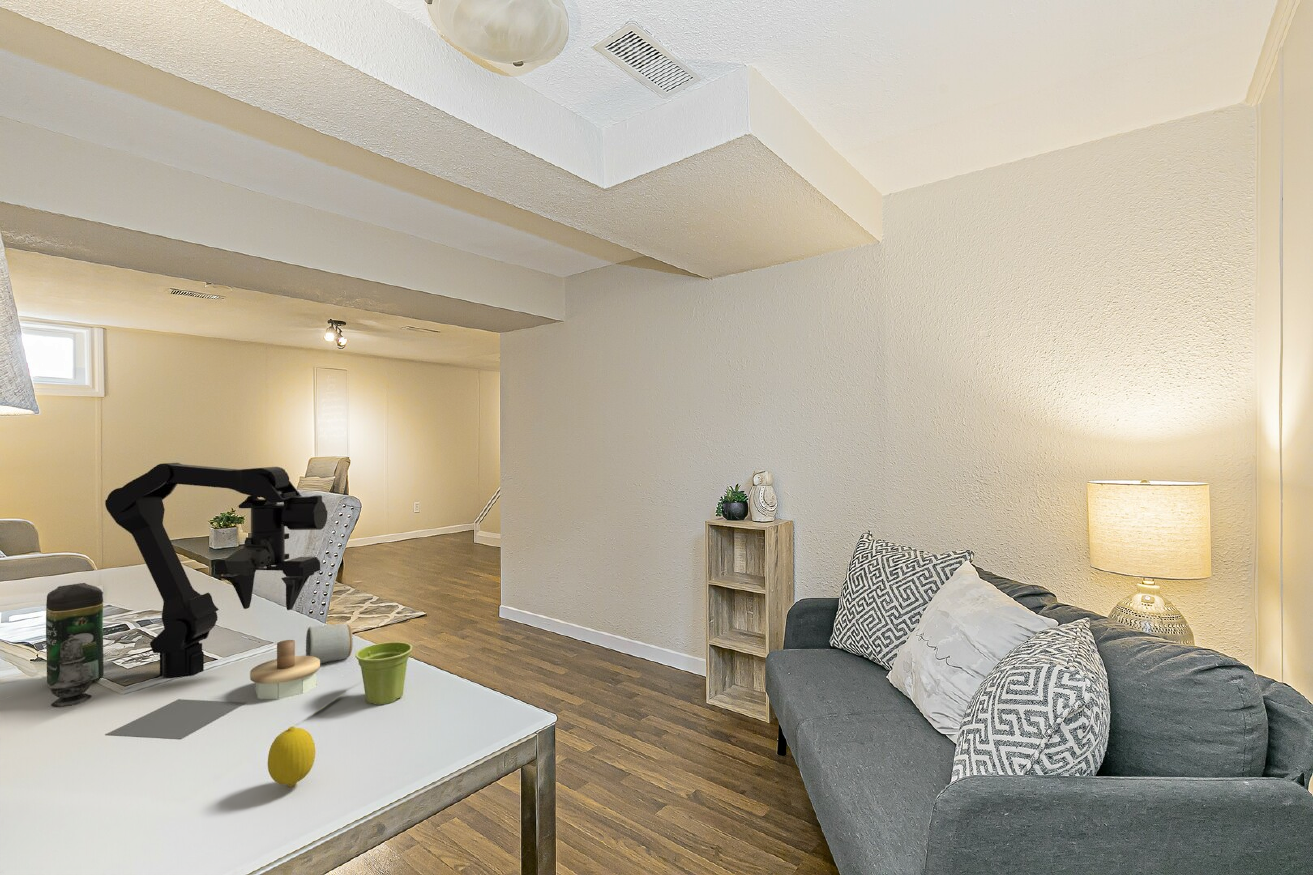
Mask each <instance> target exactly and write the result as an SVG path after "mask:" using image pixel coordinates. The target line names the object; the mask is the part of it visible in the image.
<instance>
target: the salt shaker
mask: <svg viewBox="0 0 1313 875" xmlns="http://www.w3.org/2000/svg"><path fill="white" fill-rule="evenodd" d="M69 637H70V639H68V640H66V641H64V642H63V643H62V644H61V646H60V660H59V661H58V662H57V663H58V664H60V674H59V677H58V679H57V680H56V681H54V682H52V683H50V684H49V685H48V688H50V691H51V693H52V695H53V696H54V697H56V698H57V699H55V700H54V701H52V702H51V703H50V707H52V708H67V707H72V706H77V705H79V704H82V703H83V704H84V703H85V702H87V701H89V700H90V699H92V695H91V694H90V693H89V694H88V693H86V692H87V690H88V689H89V688H90V686H91V684H92V683H91V680H92V679H93V678H94V677H93V676H92V675H86V674H84V671H83V659H85V656H82V641H81V640H80V639H75V638H73V635H72V634H71V635H70V636H69Z"/></svg>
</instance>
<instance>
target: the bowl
mask: <svg viewBox="0 0 1313 875" xmlns="http://www.w3.org/2000/svg"><path fill="white" fill-rule="evenodd" d="M254 683H255V682H254ZM316 686H317V671H316V672H315V673H313V674H311V675H309V676H306V677H303V678H300V679H297V680H293V681H288V682H282V683H273V684H262V683H255V694H256V696H257V699H260V700H261V699H262V700H282V699H286V698H289V697H295V696H299V695H303V694H305V693H306V692H308V691H310V690H312V689H313V688H315V687H316Z"/></svg>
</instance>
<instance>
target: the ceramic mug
mask: <svg viewBox="0 0 1313 875" xmlns="http://www.w3.org/2000/svg"><path fill="white" fill-rule="evenodd" d="M305 636H306V637H305V656H313V657H316V658H318V659H320V665H321V664H326V663H329V662H336V661H342V660H344V659H345V660H346V659H347V658H349V657H350V656H351V655H352V651H353V644H354V641H353V640H354V638H353V630H352V628H351V626H350V625H349V624H342V623H340V624H328V625H317V626H310V627H308V628H307V631H306V635H305Z"/></svg>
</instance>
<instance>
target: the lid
mask: <svg viewBox="0 0 1313 875" xmlns="http://www.w3.org/2000/svg"><path fill="white" fill-rule="evenodd" d="M295 650H296V642H295V640H294V639H286V640H281V641H278V642H277V643H276V658H275V659H271V660H267V661H265V662H263V663H259V664H258V665H256V666H254V667H253V668H252V669H251V670H250V672H249V679H250V681H251V682H253V683H262V684H273V683H282V682H288V681H293V680H297V679H300V678H303V677H306V676H309V675H311V674H313V673H315V672H316V673H317V671H319V669H320V668H321V664H320V659H318V658H316V657H313V656H306V655H295V654H296V651H295Z"/></svg>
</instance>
